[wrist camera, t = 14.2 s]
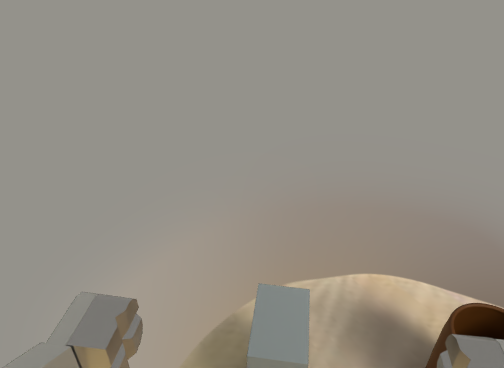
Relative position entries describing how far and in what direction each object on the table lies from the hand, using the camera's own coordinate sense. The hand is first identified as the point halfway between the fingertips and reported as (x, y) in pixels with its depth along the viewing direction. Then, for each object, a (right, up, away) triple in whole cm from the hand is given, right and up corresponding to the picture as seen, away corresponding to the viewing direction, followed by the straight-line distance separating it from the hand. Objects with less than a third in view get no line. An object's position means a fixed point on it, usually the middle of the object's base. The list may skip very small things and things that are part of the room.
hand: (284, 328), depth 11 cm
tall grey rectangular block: (+1, -16, +27) cm, 31 cm away
